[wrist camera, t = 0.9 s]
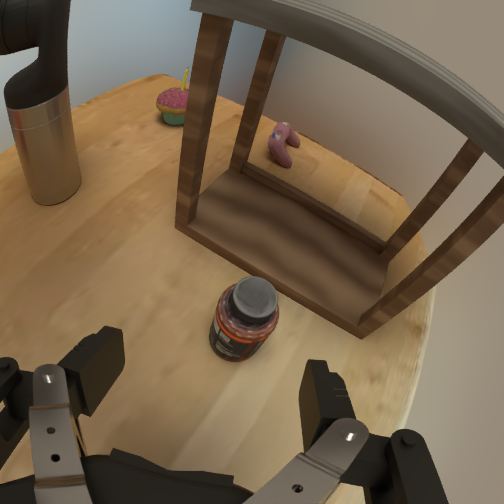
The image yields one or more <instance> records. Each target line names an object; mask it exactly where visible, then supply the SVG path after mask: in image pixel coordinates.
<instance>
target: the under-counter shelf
mask: <svg viewBox="0 0 504 504" xmlns="http://www.w3.org/2000/svg"><path fill="white" fill-rule="evenodd" d="M190 10H192V11H198V12H202V18H201V23H200V28H199V33H198V38H197V43H196V49H195V54H194V60H193V66H192V72H191V79H190V85H189V92H188V98H187V106H186V113H185V121H184V129H183V137H182V146H181V156H180V166H179V177H178V188H177V201H176V216H175V228H176V229H178V230H179V231H181V232H182V233H184V234H186V235H187V236H189V237H190V238H192V239H194V240H195V241H197V242H199V243H200V244H202V245H203V246H205V247H207V248H208V249H210V250H212V251H213V252H215V253H216V254H218V255H220V256H221V257H223V258H225V259H226V260H228V261H230V262H231V263H233V264H234V265H236V266H238V267H239V268H241V269H243V270H244V271H246V272H248V273H249V274H251V275H253V276H255V277H261V278H263V279H265V280H267V281H268V282H270V283H271V284H272V285H273V286H274V288H275V289H276V290H278V291H279V292H281V293H283V294H284V295H286V296H288V297H289V298H291V299H293V300H294V301H296V302H298V303H299V304H301V305H303V306H305V307H306V308H308V309H310V310H311V311H313V312H315V313H316V314H318V315H320V316H322V317H323V318H325V319H327V320H328V321H330V322H332V323H334V324H335V325H337V326H339V327H340V328H342V329H344V330H346V331H347V332H349V333H351V334H352V335H354V336H356V337H358V338H359V339H363V338H364V337H366V336H367V335H369V334H370V333H372V332H373V331H374V330H376V329H377V328H379V327H380V326H382V325H383V324H385V323H386V322H387V321H389V320H390V319H392V318H393V317H394V316H396V315H397V314H399V313H400V312H401V311H403V310H404V309H405V308H407V307H408V306H409V305H411V304H412V303H413V302H415V301H416V300H417V299H418V298H420V297H421V296H422V295H424V294H425V293H426V292H427V291H429V290H430V289H431V288H432V287H434V286H435V285H436V284H437V283H438V282H440V281H441V280H442V279H443V278H444V277H446V276H447V275H448V274H449V273H450V272H452V271H453V270H454V269H455V268H456V267H457V266H458V265H460V264H461V263H462V262H463V261H464V260H465V259H466V258H468V257H469V256H470V255H471V254H472V253H473V252H474V251H475V250H476V249H477V248H478V247H480V246H481V245H482V244H483V243H484V242H485V241H486V240H487V239H488V238H489V237H490V236H491V235H492V234H493V233H494V232H495V231H496V230H497V229H498V228H499V227H500V226H501V225H502V224H503V223H504V176H503V177H502V178H501V179H500V181H499V182H498V183H497V184H496V186H495V187H494V188H493V189H492V190H491V192H490V193H489V194H488V195H487V196H486V197H485V198H484V200H483V201H482V202H481V203H480V204H479V205H478V206H477V207H476V208H475V210H474V211H473V212H472V213H471V214H470V215H469V216H468V217H467V218H466V219H465V220H464V222H462V223H461V225H460V226H459V227H458V228H457V229H456V230H455V231H454V232H453V233H452V234H451V235H450V236H449V237H448V238H447V239H446V240H445V241H444V242H443V243H442V244H441V245H440V246H439V247H438V248H437V249H436V250H435V251H434V252H433V253H432V254H431V255H430V256H429V257H427V258H426V259H425V260H424V261H423V262H422V263H421V264H420V265H419V266H418V267H417V268H416V269H415V270H414V271H412V272H411V273H410V274H409V275H408V276H407V277H406V278H405V279H404V280H402V281H401V282H400V283H399V284H398V285H397V286H396V287H395V288H393V289H392V290H391V291H390V292H389V293H388V294H386V295H385V296H384V297H383V298H382V299H380V295H381V291H382V288H383V284H384V280H385V276H386V272H387V268H388V264H389V262H390V261H391V260H392V259H393V258H394V257H395V255H396V254H397V253H398V252H399V251H400V250H401V249H402V248H403V247H404V246H405V245H406V244H407V243H408V242H409V241H410V240H411V239H412V238H413V236H414V235H415V234H416V233H417V232H418V231H419V230H420V229H421V228H422V227H423V225H424V224H425V223H426V222H427V221H428V220H429V219H430V217H432V215H433V214H434V213H435V212H436V211H437V210H438V208H439V207H440V206H441V205H442V204H443V203H444V202H445V200H446V199H447V198H448V197H449V196H450V194H451V193H452V192H453V190H454V189H455V188H456V187H457V186H458V184H459V183H460V182H461V181H462V180H463V178H464V177H465V176H466V175H467V173H468V172H469V171H470V169H471V168H472V167H473V166H474V164H475V163H476V162H477V160H478V159H479V158H480V156H481V155H482V154H483V152H484V151H485V152H486V153H487V154H488V155H489V156H490V157H491V158H492V159H493V160H495V161H496V162H497V163H498V164H499V165H500V166H501V167H502V168H503V169H504V114H503V113H502V112H501V111H500V110H499V109H498V108H496V107H495V106H494V105H493V104H492V103H491V102H490V101H489V100H487V99H486V98H485V97H484V96H482V95H481V94H480V93H479V92H478V91H476V90H475V89H474V88H472V87H471V86H470V85H468V84H467V83H466V82H465V81H463V80H462V79H461V78H459V77H457V76H456V75H455V74H454V73H452V72H450V71H449V70H448V69H446V68H445V67H444V66H442V65H440V64H439V63H438V62H436V61H434V60H433V59H431V58H430V57H428V56H427V55H425V54H423V53H422V52H420V51H418V50H417V49H415V48H413V47H412V46H410V45H408V44H406V43H405V42H403V41H401V40H399V39H397V38H395V37H394V36H392V35H390V34H388V33H386V32H384V31H382V30H380V29H378V28H376V27H374V26H372V25H369V24H367V23H365V22H363V21H361V20H359V19H356V18H354V17H352V16H349V15H347V14H345V13H342V12H340V11H337V10H335V9H332V8H329V7H326V6H324V5H321V4H318V3H315V2H312V1H309V0H192V2H191V7H190ZM234 20H237V21H240V22H243V23H247V24H251V25H254V26H257V27H260V28H264V29H267V30H266V33H265V37H264V40H263V43H262V47H261V50H260V54H259V57H258V60H257V64H256V67H255V71H254V75H253V78H252V82H251V85H250V89H249V93H248V97H247V100H246V103H245V107H244V111H243V115H242V118H241V122H240V126H239V130H238V134H237V138H236V142H235V146H234V150H233V154H232V158H231V162H230V166H229V169H228V170H227V171H226V172H224V173H223V174H222V175H221V176H220V177H219V178H218V179H217V180H216V181H214V182H213V183H212V184H211V185H210V186H209V187H208V188H207V189H206V190H205V191H204V192H203V193H201V194H200V195H199V191H200V185H201V179H202V173H203V166H204V161H205V155H206V149H207V143H208V138H209V132H210V127H211V122H212V117H213V112H214V107H215V102H216V97H217V92H218V87H219V82H220V78H221V73H222V69H223V64H224V60H225V56H226V51H227V47H228V43H229V38H230V35H231V31H232V26H233V22H234ZM286 36H287V37H290V38H293V39H295V40H298V41H301V42H303V43H306V44H308V45H311V46H313V47H316V48H318V49H320V50H323V51H325V52H327V53H330V54H332V55H334V56H336V57H338V58H341V59H343V60H345V61H347V62H349V63H351V64H353V65H355V66H357V67H359V68H361V69H363V70H365V71H367V72H369V73H371V74H372V75H375V76H377V77H378V78H380V79H382V80H383V81H385V82H387V83H389V84H390V85H392V86H394V87H396V88H397V89H399V90H401V91H402V92H404V93H406V94H407V95H409V96H410V97H412V98H413V99H415V100H416V101H418V102H420V103H421V104H423V105H424V106H426V107H427V108H429V109H430V110H431V111H433V112H435V113H436V114H437V115H439V116H440V117H441V118H443V119H444V120H446V121H447V122H448V123H450V124H451V125H452V126H454V127H455V128H456V129H458V130H459V131H460V132H461V133H463V134H464V135H465V136H467V137H468V140H467V141H466V142H465V144H464V145H463V147H462V148H461V149H460V151H459V152H458V154H457V155H456V156H455V158H454V159H453V161H452V162H451V163H450V165H449V166H448V167H447V169H446V170H445V171H444V173H443V174H442V175H441V177H440V178H439V179H438V180H437V182H436V183H435V184H434V185H433V187H432V188H431V189H430V191H429V192H428V193H427V195H426V196H425V197H424V198H423V199H422V201H421V202H420V203H419V204H418V205H417V207H416V208H415V209H414V210H413V212H412V213H411V214H410V215H409V216H408V217H407V219H406V220H405V221H404V222H403V223H402V225H401V226H400V227H399V228H398V229H397V230H396V232H395V233H394V234H393V235H392V236H391V237H390V238H389V240H388V241H387V242H384V241H383V240H381V239H380V238H378V237H377V236H375V235H373V234H372V233H370V232H369V231H367V230H366V229H364V228H362V227H361V226H359V225H358V224H356V223H354V222H353V221H351V220H350V219H348V218H346V217H345V216H343V215H341V214H340V213H338V212H336V211H335V210H333V209H331V208H330V207H328V206H326V205H325V204H323V203H321V202H320V201H318V200H316V199H314V198H313V197H311V196H309V195H308V194H306V193H304V192H302V191H301V190H299V189H297V188H295V187H293V186H292V185H290V184H288V183H286V182H284V181H283V180H281V179H279V178H277V177H275V176H273V175H272V174H270V173H268V172H266V171H264V170H262V169H260V168H259V167H257V166H255V165H253V164H251V163H249V162H247V160H248V157H249V153H250V150H251V147H252V143H253V140H254V137H255V133H256V130H257V127H258V124H259V120H260V117H261V114H262V110H263V107H264V104H265V101H266V98H267V94H268V91H269V88H270V85H271V82H272V78H273V75H274V72H275V69H276V66H277V63H278V60H279V57H280V54H281V51H282V48H283V45H284V42H285V39H286ZM379 299H380V300H379Z"/></svg>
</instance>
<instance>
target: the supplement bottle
mask: <svg viewBox="0 0 504 504" xmlns="http://www.w3.org/2000/svg"><path fill="white" fill-rule="evenodd" d="M278 319H279V306H278V295H277V292H276V289H275V288H274V286H273V285H272V284H271V283H270V282H268V281H267V280H265V279H263V278H261V277H255V276H251V277H246V278H243V279H242V280H240V281H239V282H238V283H236V284H233V285H232V286H230V287H229V288H227V289H226V290H225V291H224V292H223V293H222V295H221V297H220V299H219V301H218V305H217V308H216V311H215V315H214V318H213V321H212V325H211V328H210V333H209V339H210V344H211V346H212V348H213V350H214V351H215V352H216V353H217V354H218V355H219V356H220V357H222V358H223V359H226V360H229V361H243V360H246V359H248V358H249V357H251V356H252V355H253V354H254V353H255V352H256V351H257V350H258V349H259V347H260V346H261V345H262V344H263V343H264V341H265V340H266V339H267V338H268V336H269V335H270V334H271V333H272V331H273V330H274V329H275V327H276V325H277V323H278Z"/></svg>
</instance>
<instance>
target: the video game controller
mask: <svg viewBox="0 0 504 504" xmlns="http://www.w3.org/2000/svg"><path fill="white" fill-rule="evenodd" d="M285 140H286V141H287V142H288V143H289V144H290V145H292V146H294V147H299V146H300V139H299V138H298V136H297V135H296V133H295V132H294V130H293V129H292V127H291V125H289V123H285V122H281V123H278V124H277V125H276V126H275V128H274V130H273V133H272V135H270V136H269V140H268V146H269V150H270V152H271V153H272V154H273V155H274V157H275V159H276V160H277V161H278V162H279V163H280V164H281V165H282V166H284V167H286V168H289V167H291V166H292V160H291V158H290V156H289V155H288V153H287V152H286V150H285V145H286V142H285Z"/></svg>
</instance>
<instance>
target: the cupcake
mask: <svg viewBox="0 0 504 504" xmlns="http://www.w3.org/2000/svg"><path fill="white" fill-rule="evenodd" d="M188 67H189V66H188ZM188 67H187V70H185V74H184V78H183V82H182V86H181V88H176V87H175V88H170V89H168V90H166V91H164V92H162V93H161V94H159V96H158V98H157V102H156V107H157V108H158V109H159V110H160V111H161V112H162V114H163V117H164V121H165V122H166V123H168V124H170V125H181V124H184V121H185V113H186V106H187V98H188V92H189V90H188V89H184V88H185V83H186V79H187V75H188V71H189V70H188Z"/></svg>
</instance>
